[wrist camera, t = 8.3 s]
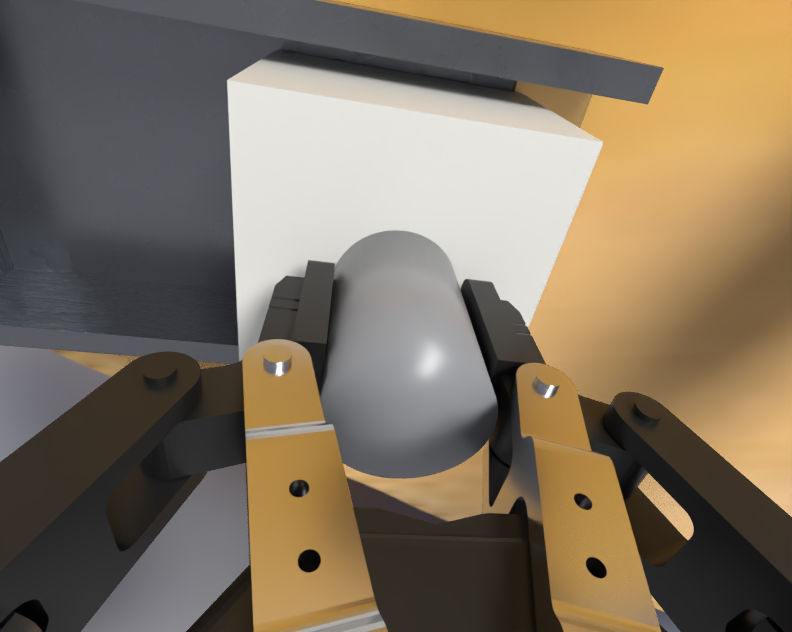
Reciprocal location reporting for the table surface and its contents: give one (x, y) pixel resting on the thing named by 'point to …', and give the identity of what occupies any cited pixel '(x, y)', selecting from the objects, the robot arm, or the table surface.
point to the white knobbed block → (398, 237)
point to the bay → (189, 149)
